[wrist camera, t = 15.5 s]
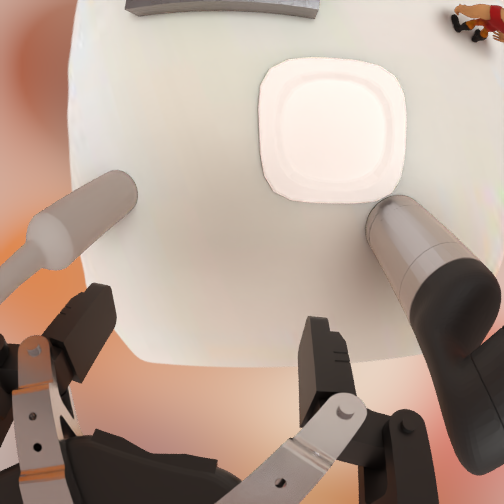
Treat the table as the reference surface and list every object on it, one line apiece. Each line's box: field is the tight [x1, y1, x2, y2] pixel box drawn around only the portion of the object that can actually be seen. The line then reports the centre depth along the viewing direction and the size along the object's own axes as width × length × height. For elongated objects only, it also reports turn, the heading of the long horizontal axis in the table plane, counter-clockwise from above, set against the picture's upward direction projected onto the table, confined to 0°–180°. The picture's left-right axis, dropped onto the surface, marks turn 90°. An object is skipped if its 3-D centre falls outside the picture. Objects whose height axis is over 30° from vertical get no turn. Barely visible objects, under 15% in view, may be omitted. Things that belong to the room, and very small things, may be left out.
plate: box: [258, 57, 407, 204], centre depth 33 cm, size 18×18×2 cm
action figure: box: [452, 4, 504, 42], centre depth 17 cm, size 10×4×15 cm, turn 78°
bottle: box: [0, 170, 138, 304], centre depth 27 cm, size 7×7×28 cm
